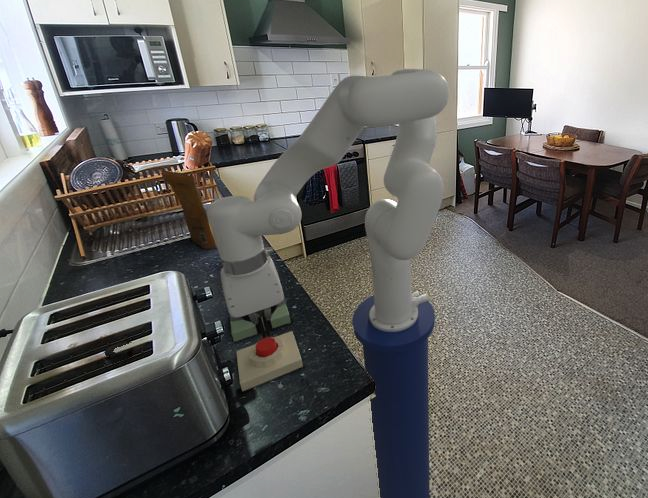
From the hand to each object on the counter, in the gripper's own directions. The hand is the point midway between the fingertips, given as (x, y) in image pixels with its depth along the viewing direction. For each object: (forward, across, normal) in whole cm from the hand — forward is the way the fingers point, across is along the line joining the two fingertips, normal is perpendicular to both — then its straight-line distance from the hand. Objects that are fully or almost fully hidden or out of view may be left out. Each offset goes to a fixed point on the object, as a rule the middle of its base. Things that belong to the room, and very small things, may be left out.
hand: (265, 332), depth 74 cm
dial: (+6, +1, -16) cm, 17 cm away
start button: (+5, +1, 0) cm, 5 cm away
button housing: (+8, +1, 0) cm, 8 cm away
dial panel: (+8, +1, -16) cm, 18 cm away
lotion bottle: (+8, +21, +6) cm, 23 cm away
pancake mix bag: (+8, +14, -72) cm, 74 cm away
